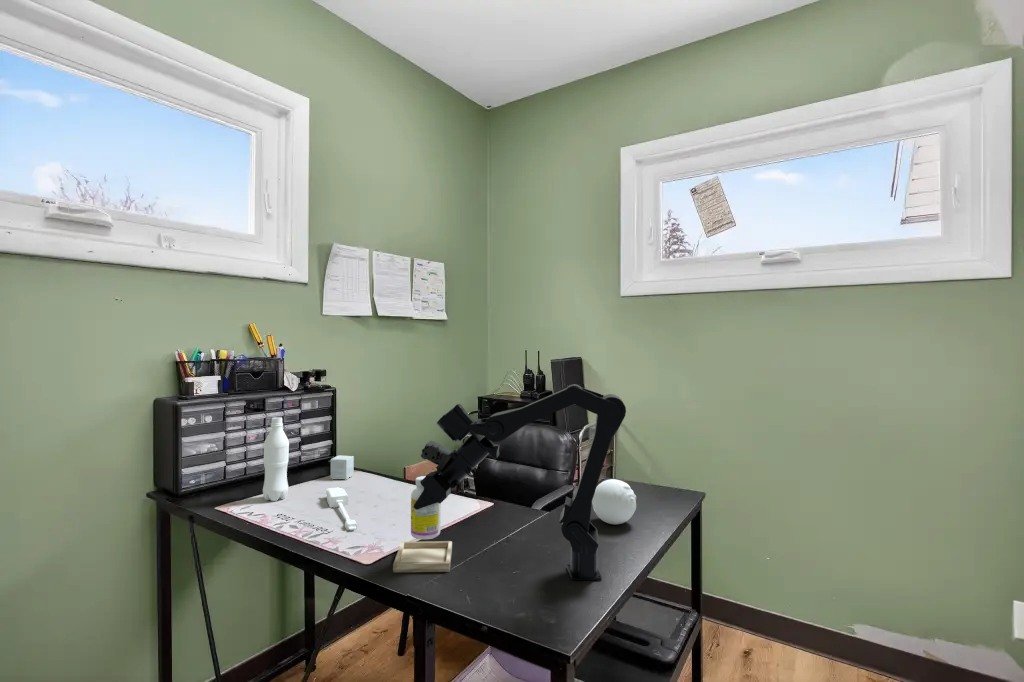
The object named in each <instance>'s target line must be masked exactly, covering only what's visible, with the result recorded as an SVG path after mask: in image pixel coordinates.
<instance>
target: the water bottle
mask: <svg viewBox="0 0 1024 682" xmlns="http://www.w3.org/2000/svg"><path fill="white" fill-rule="evenodd" d="M283 426H284V423H283V417H279V416H277V417H276V416H275V417H272V418H271V422H270V427H271V428H270V431H269V433H268V434H267V436H266V438H265V440H264V442H263V466H264V481H263V487H262V495H263V498H264V501H271V502H277V501H278V500H279V499H280V500H284V499H286V497H287V495H288V493H289V482H288V477H287V476H288V473H287V472H288V464H289V449H290V448H289V446H290V441H289V439H288V437H287V434H286V433H285V431H284V429H283V428H284V427H283Z"/></svg>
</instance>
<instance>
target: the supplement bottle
mask: <svg viewBox="0 0 1024 682" xmlns="http://www.w3.org/2000/svg"><path fill="white" fill-rule="evenodd" d="M426 476H427V475H426ZM426 476H425V475H424V476H423V475H421V476H417V477H416V478H415V485H416V488H414V490H412V492H411V495H410V535H411V537H412V538H413V539H414V538H415V539H416V540H432V539H435V538H437V537H438V536H439V535H440V534H441V511H442V510H441V507H442V506H441V505H442V504H440V503H435V504H432V505H429V506H426V507H423V508H420V509H418V510H416V509H415V508H414V507H413V506H414V504H415V503H416V501H417V500H418V498H419V496H420V495H421V493H422V492H423V490H424V487H423V486H422V485H421V481H422V480H423V479H424V478H425V477H426Z"/></svg>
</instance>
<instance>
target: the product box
mask: <svg viewBox="0 0 1024 682" xmlns="http://www.w3.org/2000/svg"><path fill="white" fill-rule="evenodd" d="M354 459H355V456H353V455H340V454H338V455H337V456H335V457H332V458H331V459H330V479H331V478H332V479H331V480H333V479H347V478H349V477H351V476H352V475H353V476H355V475H354V474H355V472H354V468H355V467H354V465H355V464H354V462H355V460H354ZM353 476H352V477H353ZM352 477H351V478H352ZM349 479H350V478H349ZM347 480H348V479H347Z"/></svg>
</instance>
